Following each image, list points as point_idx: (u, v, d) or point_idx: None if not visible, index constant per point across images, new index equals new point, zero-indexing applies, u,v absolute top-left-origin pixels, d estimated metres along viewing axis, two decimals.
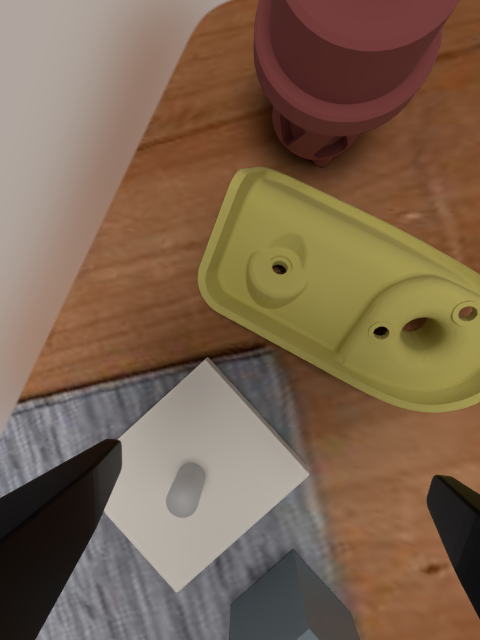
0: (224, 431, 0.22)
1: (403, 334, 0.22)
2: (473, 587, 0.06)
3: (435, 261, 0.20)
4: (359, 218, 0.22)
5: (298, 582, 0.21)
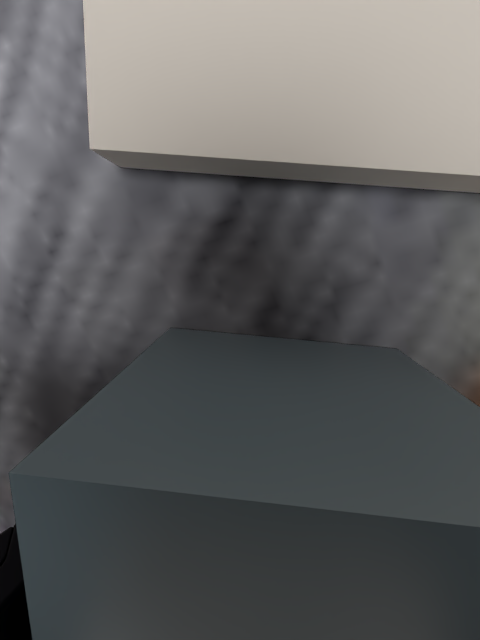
0: None
1: None
2: None
3: None
4: None
5: (457, 394, 0.06)
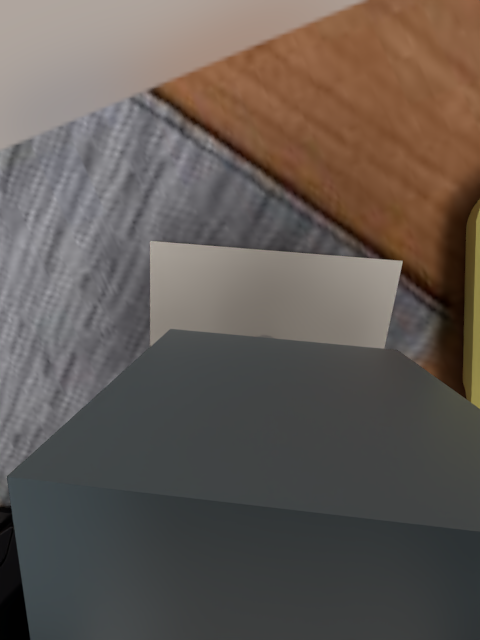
0: None
1: None
2: None
3: None
4: None
5: (457, 396, 0.06)
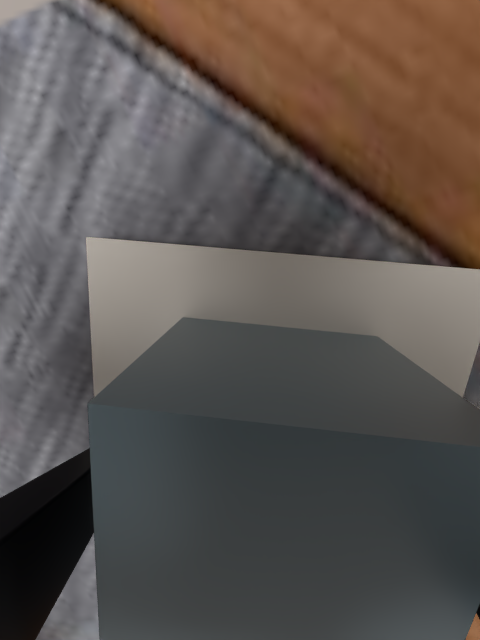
0: None
1: None
2: None
3: None
4: None
5: (418, 368, 0.07)
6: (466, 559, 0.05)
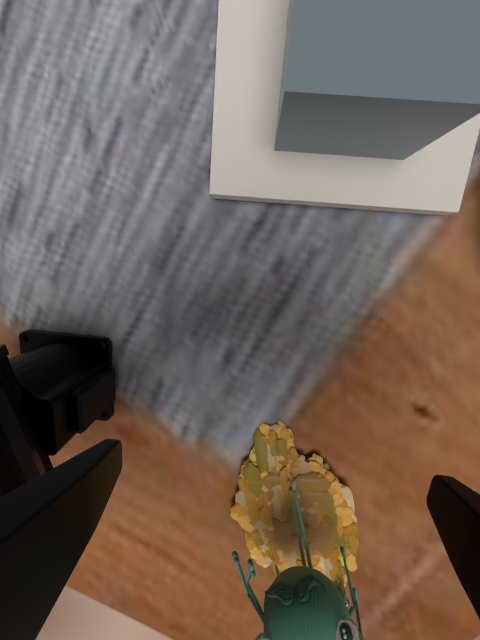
0: None
1: None
2: (473, 587, 0.06)
3: None
4: None
5: None
6: None
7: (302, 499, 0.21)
